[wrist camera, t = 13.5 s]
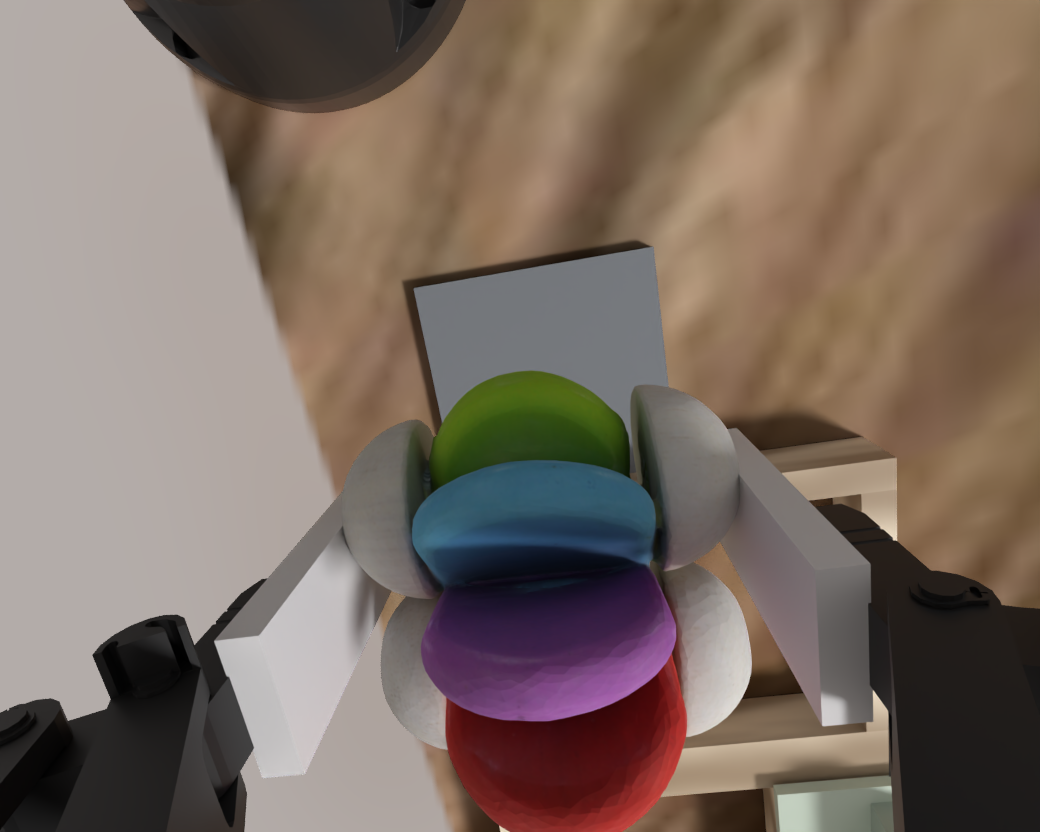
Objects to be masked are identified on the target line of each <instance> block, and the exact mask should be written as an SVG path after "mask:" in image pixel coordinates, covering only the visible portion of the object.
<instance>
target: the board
mask: <svg viewBox="0 0 1040 832" xmlns="http://www.w3.org/2000/svg"><path fill="white" fill-rule="evenodd" d="M760 452H761V453H762V454H763V455H764V456H765V457H766V458H767V459H768V460H769V461H770V462H771V463H772V464H773V465H774V466H775V467H776V468H777V469H778V470H779V471H780V472H781V473H782V474H783V475H784V476H785V477H786V478H787V479H788V481H789V482H790V483H791V484H792V485H793V486H794V487H795V488H796V489H797V490H798V491H799V492H800V493H801V494H802V495H803V496H804V497H805V498H806V499H807V500H808V501H810V500H818V499H826V498H833V505H834V504H843V505H846V506H848V507H851V508H853V509H856V510H858V511H860V512H863V513H865V514H866V515H867V516H869V517H870V518H871V519H872V520H873V521H874V522H875V523H877V524H878V525H879V526H880V528H881V529H884V530H885V531H886V532H887V533H888V534H889V535H890V536H892V537H893V541H894V540H896V541H897V458H896V457H895V456H893V455H891V454H890V453H888V452H887V451H885V450H883V449H882V448H880V447H879V446H877V445H875V444H874V443H872V442H871V441H869V440H867V439H866V438H864V437H857V438H849V439H842V440H835V441H827V442H820V443H813V444H806V445H798V446H791V447H784V448H777V449H769V450H762V451H760ZM630 477H631V479H632V480H634V481H635V482H637V483H638V480H637V474H636V472H635V473H630ZM886 775H889V735H888V710H887V709H886V707H885V706H884V704H883V703H882V702H881V700H880V699H879V697H878V696H877V695H876V693H875V692H874V690H873V722H865V723H854V724H843V725H832V726H822V725H821V723H820V721H819V720H818V718H817V716H816V714H815V712H814V710H813V709H812V707H811V705H810V703H809V701H808V700H807V698H806V696H805V694H804V693H799V694H789V695H779V696H769V697H758V698H748V699H741V700H740V702H739V704H738V705H737V707H736V708H735V709H734V710H733V711H732V713H731V714H730V715H729V716H728V717H727V718H726V719H724V720H723V721H722V722H720V723H719V724H718V725H716V726H715V727H713V728H711V729H709V730H707V731H705V732H703V733H701V734H697V735H694V736H691V737H686V739H685V742H684V746H683V749H682V753H681V756H680V759H679V762H678V764H677V767H676V770H675V772H674V774H673V776H672V778H671V780H670V782H669V783H668V786H667V788H666V789H665V790H664V792H663V793H662V795H661V797H665V796H677V795H689V794H701V793H713V792H725V791H737V790H749V789H761V788H763V796H764V809H765V821H766V832H777V829H776V815H775V801H774V788H773V785H779V784H791V783H802V782H814V781H826V780H838V779H850V778H862V777H874V776H886ZM499 827H500V832H509V831H507V830H505V829H504V828H502V827H501V826H499Z"/></svg>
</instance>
